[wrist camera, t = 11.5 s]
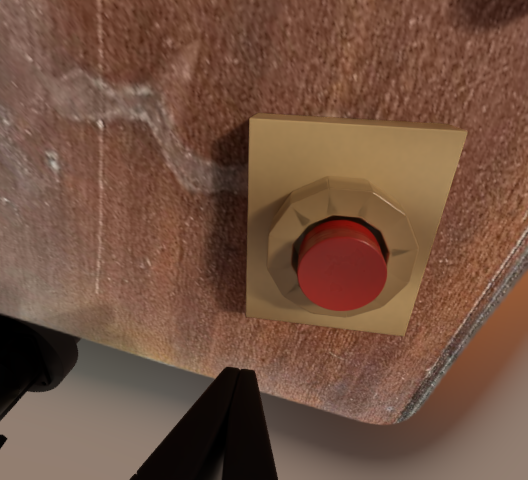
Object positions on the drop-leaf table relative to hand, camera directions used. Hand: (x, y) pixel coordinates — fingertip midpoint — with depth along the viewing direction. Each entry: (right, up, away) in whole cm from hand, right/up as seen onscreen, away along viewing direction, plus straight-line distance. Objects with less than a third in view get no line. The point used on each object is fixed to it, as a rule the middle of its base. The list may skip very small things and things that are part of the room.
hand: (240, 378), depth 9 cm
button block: (+5, +5, +9) cm, 11 cm away
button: (+4, +3, +6) cm, 8 cm away
